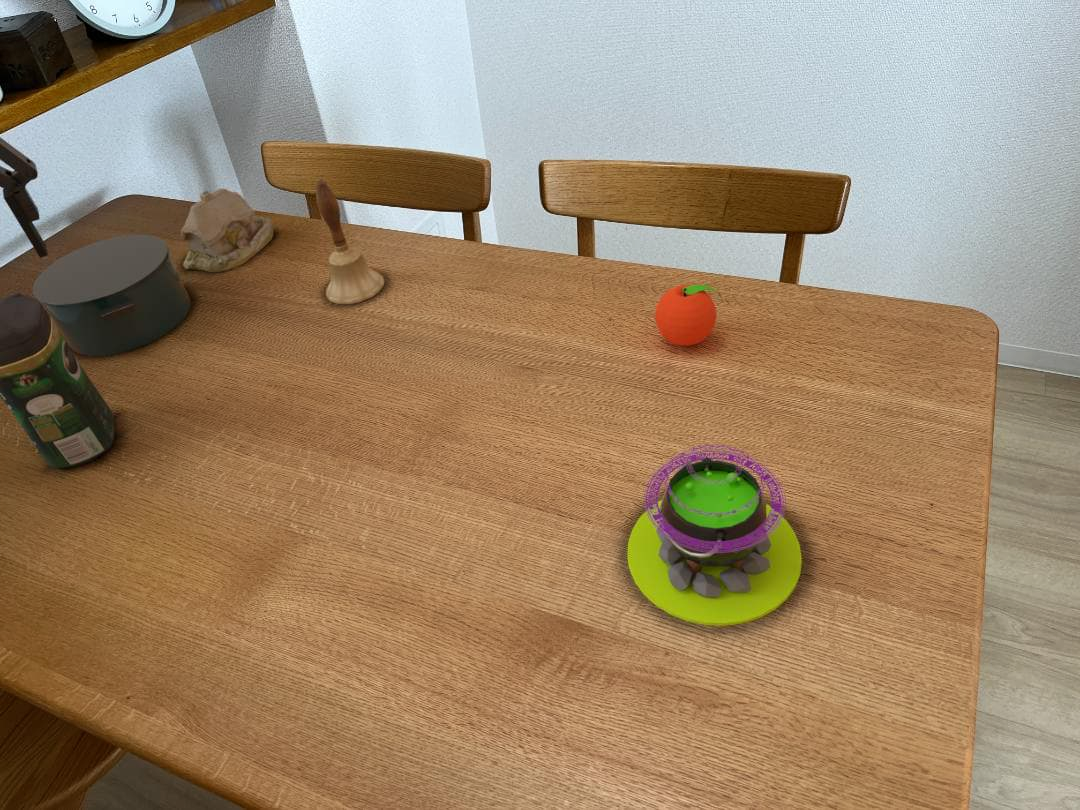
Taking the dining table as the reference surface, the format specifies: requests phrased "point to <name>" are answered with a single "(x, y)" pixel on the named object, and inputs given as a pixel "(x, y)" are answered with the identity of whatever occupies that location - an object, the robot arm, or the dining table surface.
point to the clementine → (686, 314)
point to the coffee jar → (49, 387)
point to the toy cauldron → (714, 542)
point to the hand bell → (345, 257)
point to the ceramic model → (223, 232)
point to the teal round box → (114, 294)
